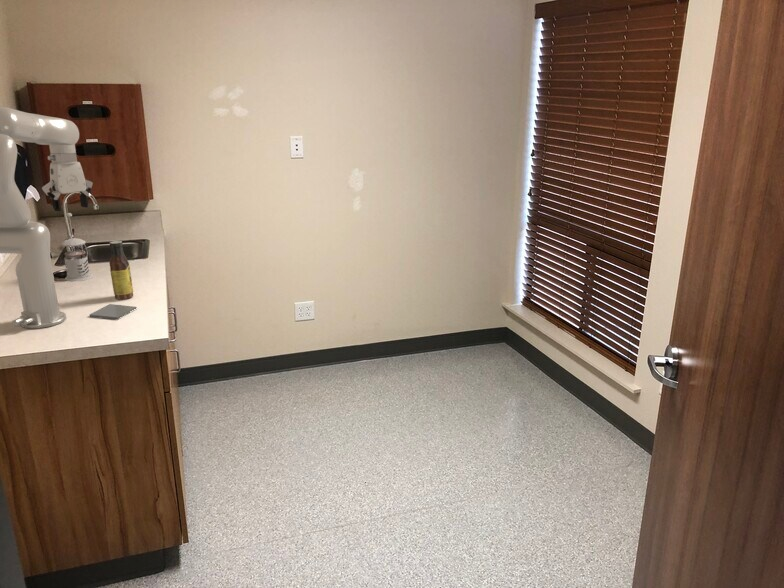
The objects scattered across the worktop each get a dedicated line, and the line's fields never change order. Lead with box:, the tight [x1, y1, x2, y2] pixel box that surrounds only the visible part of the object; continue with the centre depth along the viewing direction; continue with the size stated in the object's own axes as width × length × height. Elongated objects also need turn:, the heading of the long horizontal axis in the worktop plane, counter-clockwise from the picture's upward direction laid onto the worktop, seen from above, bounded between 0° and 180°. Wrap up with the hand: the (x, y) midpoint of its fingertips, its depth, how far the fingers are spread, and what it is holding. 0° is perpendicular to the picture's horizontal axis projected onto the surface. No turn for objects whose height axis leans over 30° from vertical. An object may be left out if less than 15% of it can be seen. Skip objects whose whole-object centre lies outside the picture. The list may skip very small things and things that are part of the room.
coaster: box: [89, 303, 138, 320], centre depth 194 cm, size 10×10×1 cm
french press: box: [61, 212, 94, 282], centre depth 224 cm, size 10×12×25 cm
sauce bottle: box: [109, 240, 134, 301], centre depth 205 cm, size 6×6×20 cm
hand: (71, 209), depth 206 cm, fingers open, 9 cm apart
